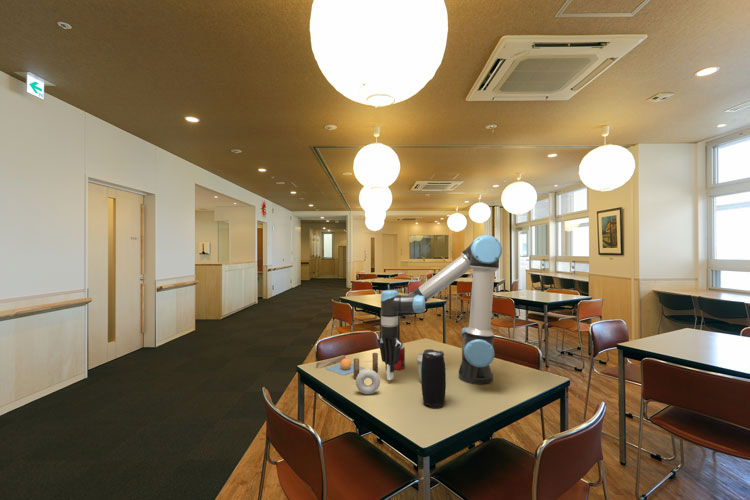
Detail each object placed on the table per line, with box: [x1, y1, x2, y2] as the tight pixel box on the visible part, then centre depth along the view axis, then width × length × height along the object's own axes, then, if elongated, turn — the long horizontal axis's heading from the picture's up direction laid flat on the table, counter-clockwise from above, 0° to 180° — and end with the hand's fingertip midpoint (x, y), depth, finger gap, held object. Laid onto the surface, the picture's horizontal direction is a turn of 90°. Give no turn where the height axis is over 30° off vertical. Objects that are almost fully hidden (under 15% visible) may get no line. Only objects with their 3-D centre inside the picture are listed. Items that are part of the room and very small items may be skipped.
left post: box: [353, 357, 360, 381], centre depth 151 cm, size 3×3×9 cm
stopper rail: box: [315, 355, 346, 369], centre depth 173 cm, size 2×18×2 cm, turn 137°
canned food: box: [394, 344, 406, 371], centre depth 165 cm, size 8×8×11 cm
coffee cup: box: [416, 352, 424, 384], centre depth 146 cm, size 9×9×12 cm
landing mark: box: [324, 363, 365, 376], centre depth 165 cm, size 14×14×1 cm
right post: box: [371, 352, 379, 374], centre depth 160 cm, size 3×3×9 cm
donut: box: [355, 368, 381, 395], centre depth 133 cm, size 10×4×10 cm, turn 91°
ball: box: [339, 357, 352, 370], centre depth 164 cm, size 6×6×6 cm
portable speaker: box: [420, 348, 447, 410], centre depth 124 cm, size 9×9×20 cm
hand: (390, 378), depth 145 cm, fingers closed
